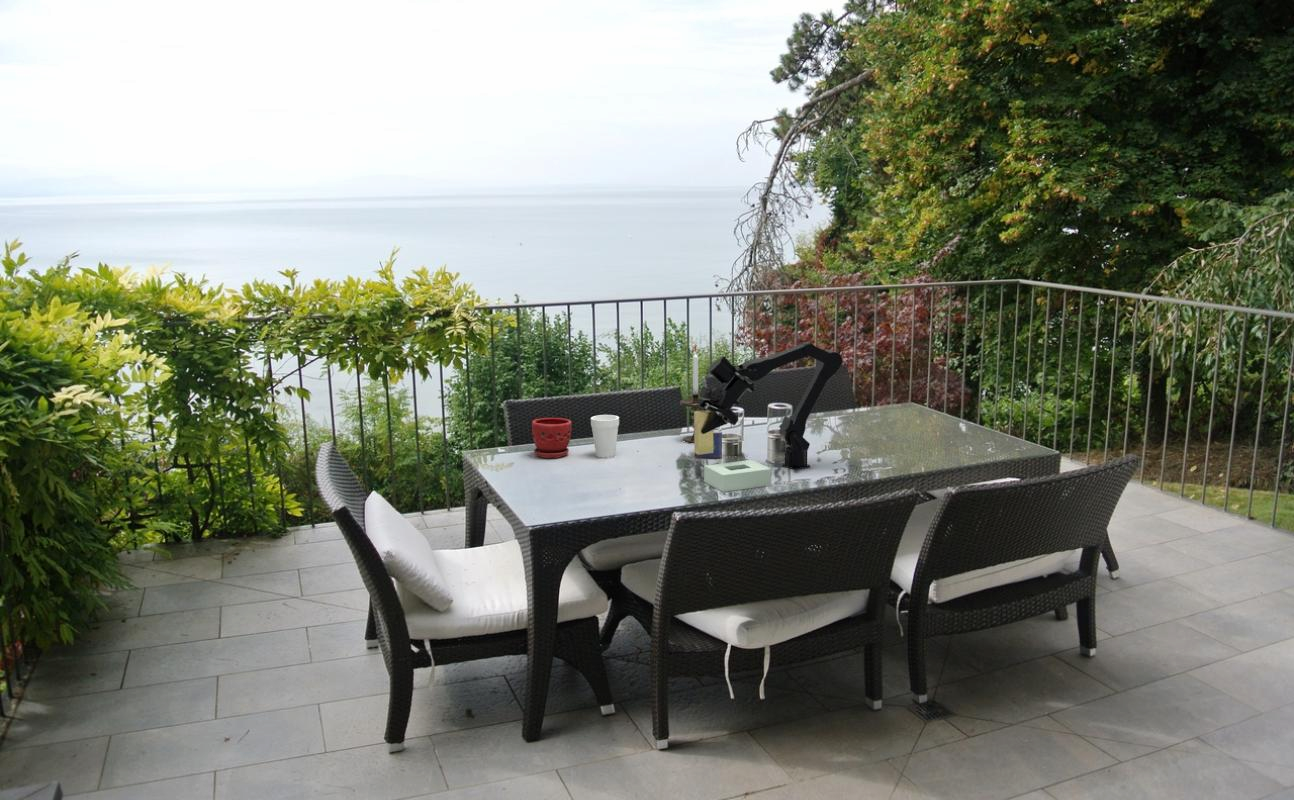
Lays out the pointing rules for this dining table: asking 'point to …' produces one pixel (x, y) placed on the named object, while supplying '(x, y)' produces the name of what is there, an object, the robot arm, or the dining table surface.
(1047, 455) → the dining table surface
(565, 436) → the plant pot
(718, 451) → the flask
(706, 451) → the tan rectangular block
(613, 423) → the foam cup
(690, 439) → the candlestick
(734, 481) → the coin box
